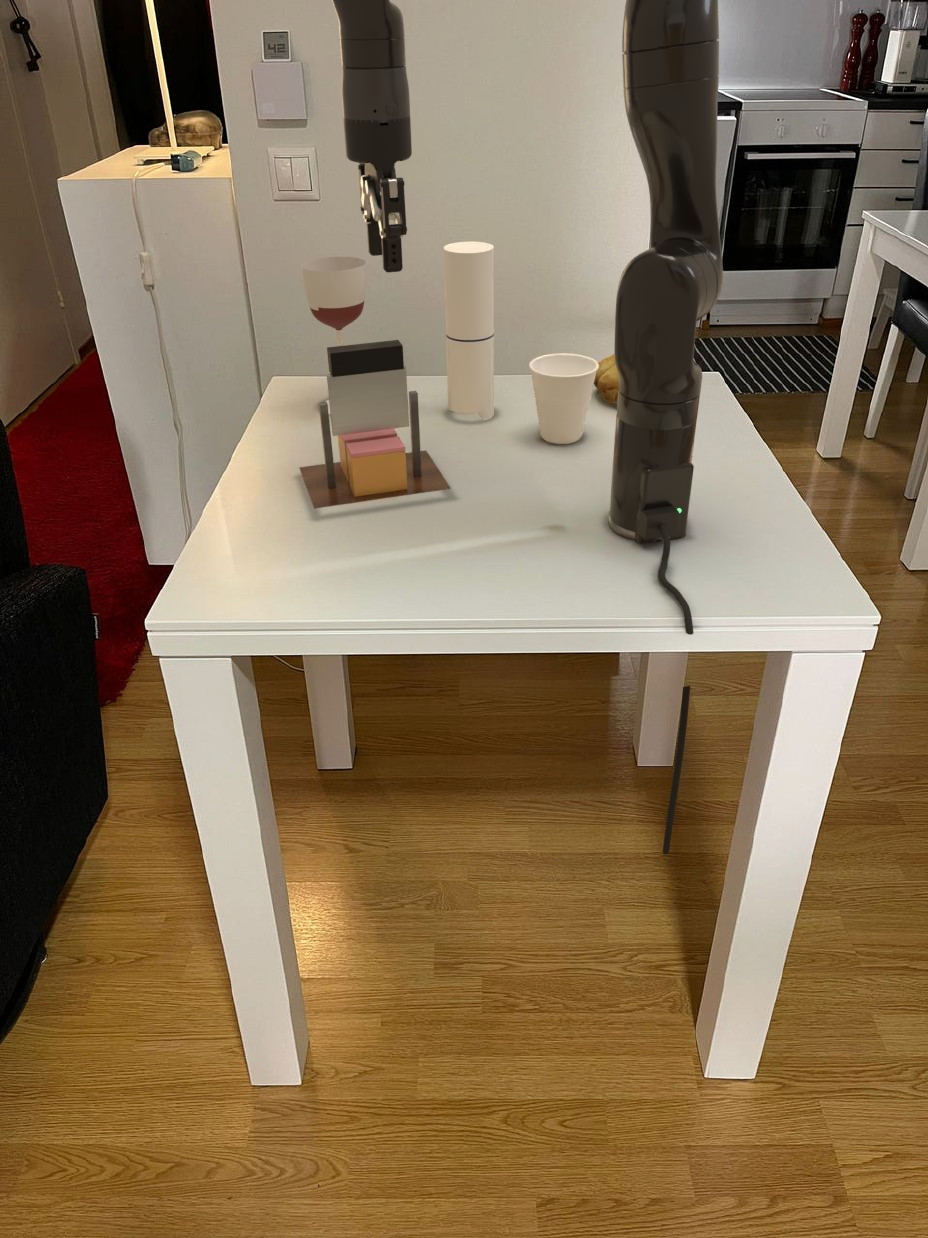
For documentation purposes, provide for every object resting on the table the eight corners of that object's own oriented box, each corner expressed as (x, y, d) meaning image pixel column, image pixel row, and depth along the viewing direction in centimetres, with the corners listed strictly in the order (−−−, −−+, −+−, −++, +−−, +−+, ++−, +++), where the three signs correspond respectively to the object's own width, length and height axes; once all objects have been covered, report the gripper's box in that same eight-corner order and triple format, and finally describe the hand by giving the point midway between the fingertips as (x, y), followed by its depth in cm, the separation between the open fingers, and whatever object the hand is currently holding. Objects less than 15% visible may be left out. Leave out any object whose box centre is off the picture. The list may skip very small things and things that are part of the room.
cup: (597, 450, 139) (602, 375, 133) (528, 450, 139) (530, 376, 133) (591, 423, 147) (595, 352, 141) (526, 424, 148) (527, 353, 142)
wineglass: (310, 400, 157) (295, 260, 145) (367, 392, 160) (356, 254, 148) (323, 419, 151) (308, 273, 138) (382, 410, 153) (372, 267, 141)
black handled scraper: (411, 429, 125) (406, 344, 119) (334, 439, 122) (326, 353, 116) (406, 422, 127) (402, 339, 121) (331, 432, 124) (322, 347, 118)
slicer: (451, 498, 127) (449, 403, 120) (315, 518, 123) (304, 422, 116) (426, 459, 137) (422, 370, 130) (300, 477, 133) (289, 385, 126)
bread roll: (660, 413, 150) (665, 363, 146) (597, 414, 150) (601, 364, 146) (647, 384, 161) (651, 336, 156) (588, 385, 161) (591, 338, 157)
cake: (407, 489, 126) (405, 446, 123) (354, 497, 124) (350, 453, 121) (390, 459, 134) (387, 418, 131) (340, 466, 132) (336, 424, 129)
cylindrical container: (443, 420, 149) (437, 251, 136) (454, 404, 155) (450, 240, 141) (488, 424, 148) (487, 253, 134) (498, 407, 154) (498, 242, 140)
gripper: (332, 107, 113) (344, 252, 122) (355, 121, 102) (366, 280, 111) (395, 104, 115) (402, 247, 124) (424, 118, 103) (430, 274, 112)
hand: (385, 262), depth 117 cm, fingers open, 8 cm apart
